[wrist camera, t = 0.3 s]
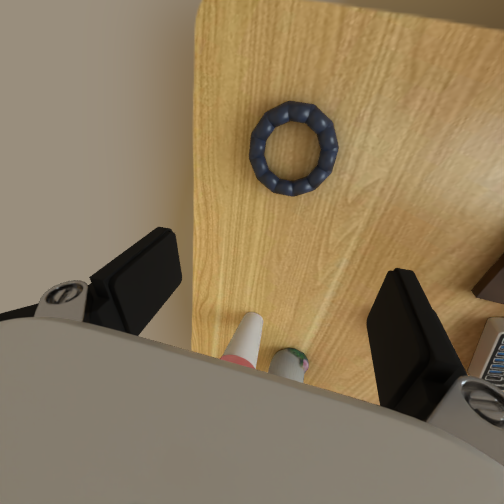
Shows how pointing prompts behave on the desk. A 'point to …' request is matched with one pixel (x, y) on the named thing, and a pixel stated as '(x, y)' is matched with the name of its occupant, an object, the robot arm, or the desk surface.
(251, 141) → the ring
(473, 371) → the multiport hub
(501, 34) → the desk surface
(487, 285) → the stand
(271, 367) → the decorative ornament
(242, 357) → the cup
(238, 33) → the desk surface
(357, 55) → the desk surface
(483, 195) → the desk surface
